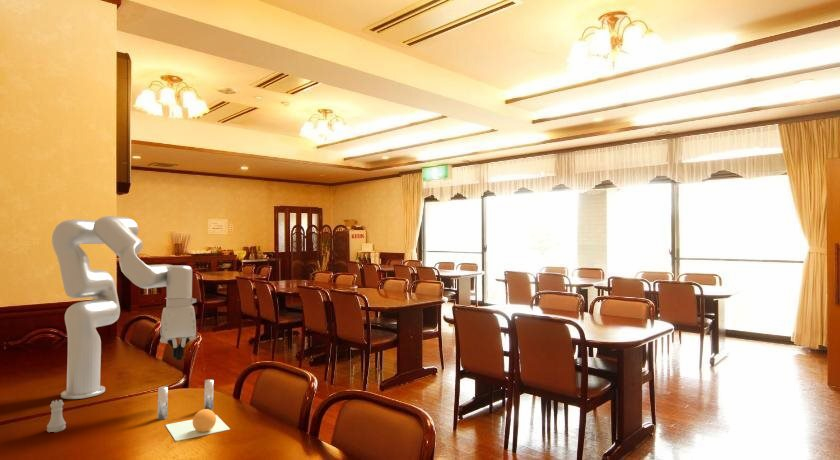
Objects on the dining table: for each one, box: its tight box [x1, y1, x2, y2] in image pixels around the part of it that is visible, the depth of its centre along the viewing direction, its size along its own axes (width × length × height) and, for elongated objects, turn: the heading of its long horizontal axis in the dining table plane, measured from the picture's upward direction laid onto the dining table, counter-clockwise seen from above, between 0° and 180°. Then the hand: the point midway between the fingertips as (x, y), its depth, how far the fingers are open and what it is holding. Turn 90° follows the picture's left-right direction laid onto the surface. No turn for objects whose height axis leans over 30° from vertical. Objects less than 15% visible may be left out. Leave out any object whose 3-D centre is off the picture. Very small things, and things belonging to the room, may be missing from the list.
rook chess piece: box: [46, 399, 67, 433], centre depth 138 cm, size 4×4×8 cm
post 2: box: [203, 378, 215, 411], centre depth 156 cm, size 3×3×9 cm
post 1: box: [157, 386, 169, 420], centre depth 148 cm, size 3×3×9 cm
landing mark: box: [164, 414, 231, 442], centre depth 140 cm, size 14×14×1 cm
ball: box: [192, 408, 216, 432], centre depth 138 cm, size 6×6×6 cm
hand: (178, 359), depth 162 cm, fingers closed
